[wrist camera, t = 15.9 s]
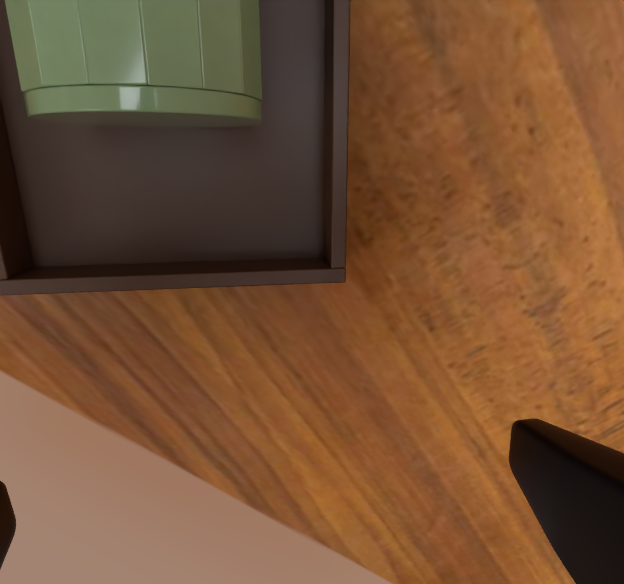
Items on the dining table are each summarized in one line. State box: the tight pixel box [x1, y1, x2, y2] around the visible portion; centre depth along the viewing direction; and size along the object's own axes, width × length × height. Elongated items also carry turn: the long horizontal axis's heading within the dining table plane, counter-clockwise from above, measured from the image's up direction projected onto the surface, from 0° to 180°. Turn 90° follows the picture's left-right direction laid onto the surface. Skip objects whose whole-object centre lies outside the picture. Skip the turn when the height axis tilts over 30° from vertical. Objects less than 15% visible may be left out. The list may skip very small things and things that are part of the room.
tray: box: [0, 0, 350, 295], centre depth 15 cm, size 17×13×2 cm
